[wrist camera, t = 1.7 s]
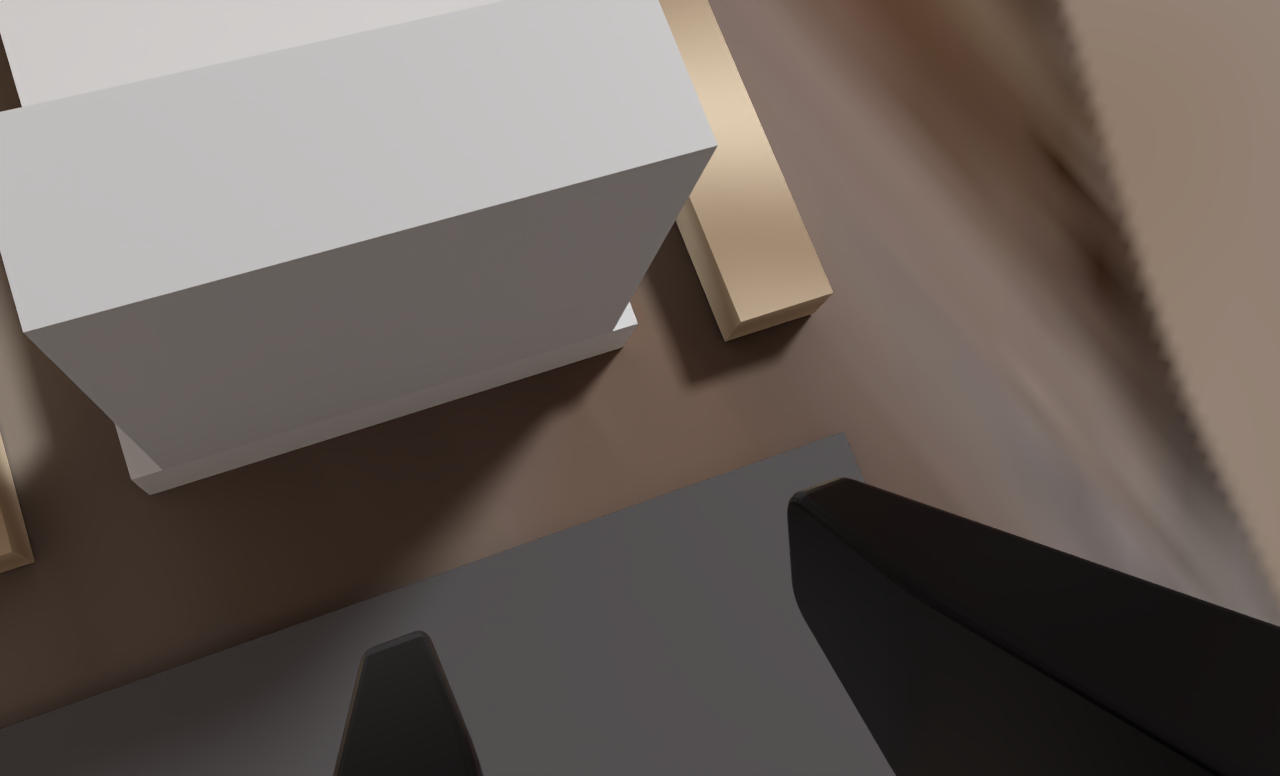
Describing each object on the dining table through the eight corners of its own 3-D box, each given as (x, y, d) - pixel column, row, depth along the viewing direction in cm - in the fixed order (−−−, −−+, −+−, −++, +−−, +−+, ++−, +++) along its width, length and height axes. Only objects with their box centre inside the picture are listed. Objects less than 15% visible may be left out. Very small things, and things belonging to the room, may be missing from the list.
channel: (813, 313, 24) (833, 292, 23) (-94, 602, 19) (-125, 594, 18) (576, -243, 27) (584, -287, 25) (-265, -105, 22) (-301, -150, 21)
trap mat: (985, 781, 22) (991, 781, 22) (88, 1194, 18) (84, 1200, 17) (839, 434, 23) (843, 431, 23) (-25, 739, 19) (-30, 739, 19)
